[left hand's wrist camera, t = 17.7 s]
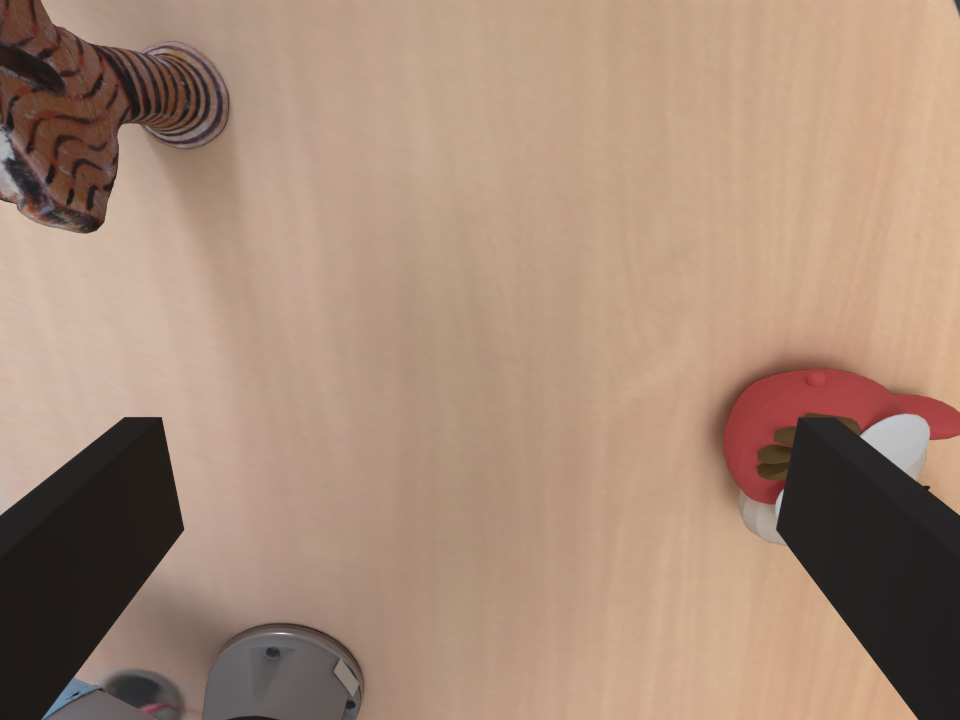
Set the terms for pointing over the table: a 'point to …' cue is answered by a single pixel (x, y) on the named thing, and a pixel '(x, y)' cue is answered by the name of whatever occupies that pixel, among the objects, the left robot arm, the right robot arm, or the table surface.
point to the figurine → (89, 112)
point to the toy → (821, 393)
